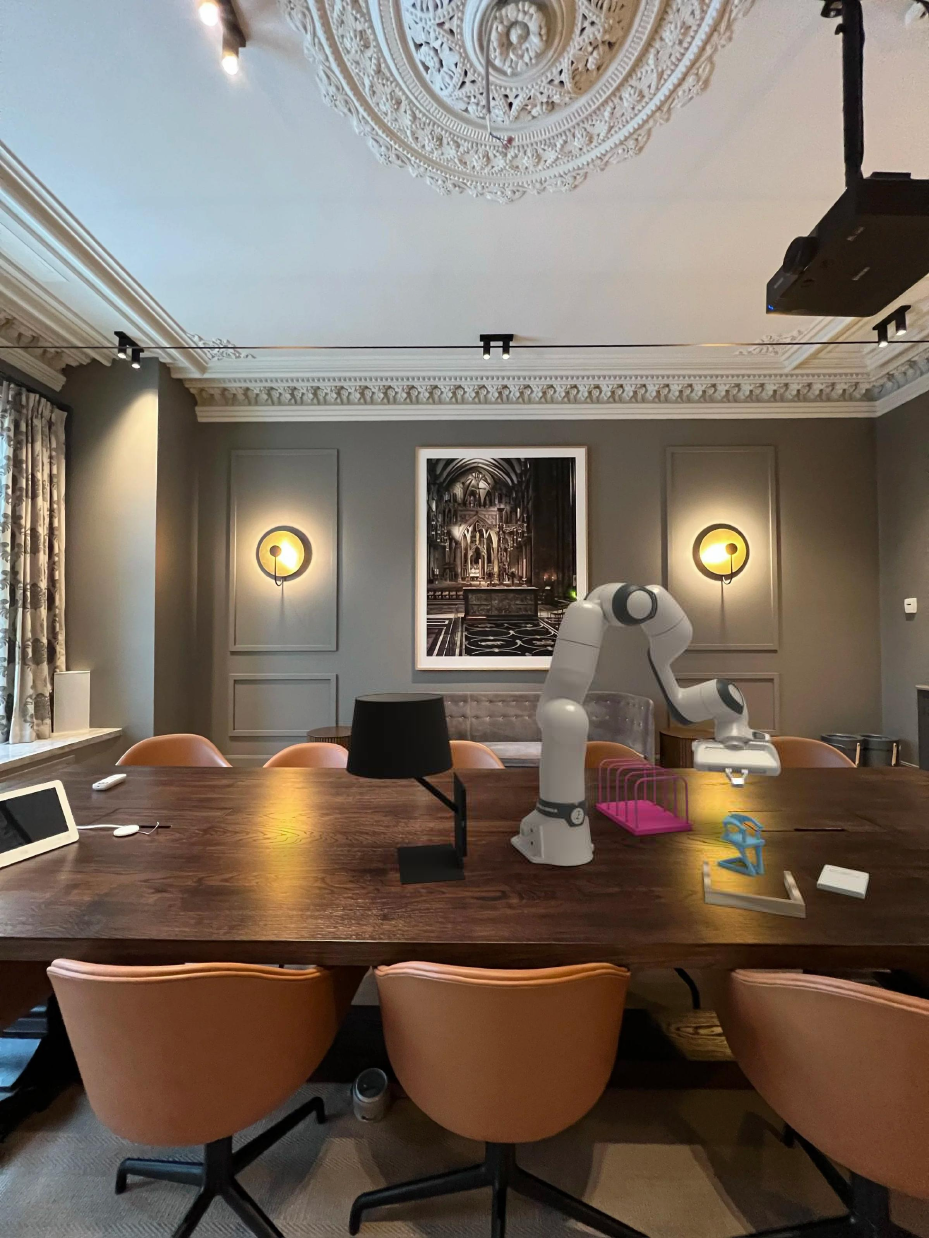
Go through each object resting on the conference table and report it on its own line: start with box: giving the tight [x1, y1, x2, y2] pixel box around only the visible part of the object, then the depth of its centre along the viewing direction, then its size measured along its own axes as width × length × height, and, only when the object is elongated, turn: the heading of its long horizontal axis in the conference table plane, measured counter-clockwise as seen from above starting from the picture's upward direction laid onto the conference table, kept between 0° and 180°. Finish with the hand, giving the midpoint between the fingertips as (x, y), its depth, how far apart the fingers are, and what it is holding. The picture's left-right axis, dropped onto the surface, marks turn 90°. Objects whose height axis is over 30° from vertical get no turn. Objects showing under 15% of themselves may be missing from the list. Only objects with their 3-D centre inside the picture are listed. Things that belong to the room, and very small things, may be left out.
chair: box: [717, 813, 766, 878], centre depth 128 cm, size 8×8×12 cm
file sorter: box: [596, 758, 693, 836], centre depth 164 cm, size 17×25×16 cm
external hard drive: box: [816, 864, 870, 900], centre depth 120 cm, size 2×8×12 cm
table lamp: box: [345, 692, 468, 886], centre depth 133 cm, size 26×28×40 cm
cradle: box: [702, 860, 806, 919], centre depth 115 cm, size 16×17×2 cm
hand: (738, 786), depth 138 cm, fingers closed
